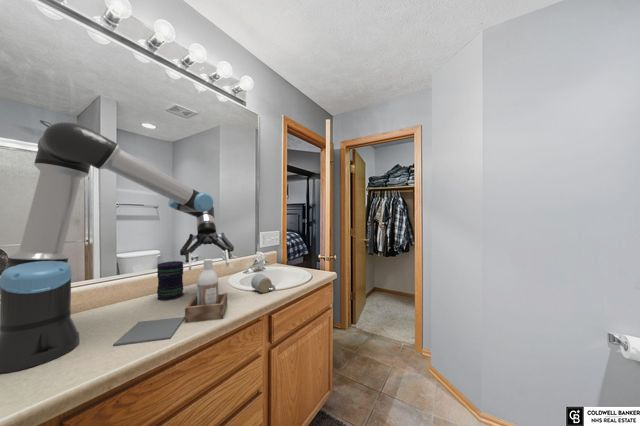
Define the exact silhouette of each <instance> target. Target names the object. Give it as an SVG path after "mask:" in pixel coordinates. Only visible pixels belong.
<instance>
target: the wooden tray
mask: <svg viewBox="0 0 640 426" xmlns="http://www.w3.org/2000/svg"><path fill="white" fill-rule="evenodd" d="M227 309H228V293H226V292H223V293H218V304H210V305H200V306H197V295H194V296H193V297H192V298H191V299H190V301H188V303H187V305H185V307H184V317H185V319H184V323H186V324H187V323H196V322H203V321H213V320H221V319H222V320H223V319H224V317H225V314H226V311H227Z"/></svg>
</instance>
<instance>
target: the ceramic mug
mask: <svg viewBox="0 0 640 426" xmlns="http://www.w3.org/2000/svg"><path fill="white" fill-rule="evenodd" d="M250 285H251V287H252V289H254V288H255V289H256V290H255V289H254V290H255V291H257V292H259V293H262V294H265V293H268V292H269V291H270V290H271V289H269V288H273V289H272V290H275V289H276V285H274V284H273V283H272V280H271V279H270V278H269V277H268V276H266V275H264V274H262V273H257V274H255V275H254V276H253V277H252V278H251V281H250Z"/></svg>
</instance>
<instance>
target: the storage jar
mask: <svg viewBox="0 0 640 426" xmlns="http://www.w3.org/2000/svg"><path fill="white" fill-rule="evenodd" d="M156 273H157V276H156V277H157V290H156V291H157V292H156V294H157V298H156V299H157V301H162V302H163V301H164V302H167V301H172V300H177V299H180V298H182V297H183V296H184V282H183V279H184V278H183V275H184V261H181V260H177V261H176V260H175V261H174V260H173V261H165V262H160V263H158V264H157V272H156Z"/></svg>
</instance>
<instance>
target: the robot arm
mask: <svg viewBox="0 0 640 426" xmlns="http://www.w3.org/2000/svg"><path fill="white" fill-rule="evenodd" d="M37 148H38V149H37V151H36V155H35V159H34V163H33V166H34V167H35V168H36V169H37V170H39V175H38V177H37V178H38V179H37V183H36V186H35V190H34V194H33V198H32V201H31V204H30V209H29V212H28V215H27V220H26V224H25V226H24V231H23V234H22V237H21V238H22V239H21V243H20V246H19V249H18V251H16V252H14V253H12V254H10V255H9V256H8V258H7V262H6V264H5V265H6V266H5V268H4V270H3V271H2V272H1V274H0V374H4V373H12V372H16V371H20V370H21V371H22V370H25V369H28V368H32V367H34V366H35V367H36V366H39V365H43V364H45V363H47V362H49V361H52V360H55V359H57V358H60V357H61V356H64V355H66V354H68V353H70V352H71V351H72V350H74V349H75V348H76V347H78V346H79V344H80V333H79V331H78V330H77V327H76V324H75V322H74V321H73V319H72V316H71V314H72V313H71V312H72V309H71V308H72V307H71V306H72V303H71V300H72V294H71V293H72V277H73V272H72V267H71V265H70V263H68V261H69V256H68V255H67V254H66V252H64V249H65V244H66V240H67V237H68V232H69V229H70V225H71V221H72V215H73V211H74V207H75V203H76V199H77V195H78V191H79V187H80V183H81V180H82V179H85V178H86V177H88V176H89V173H90V170H91V167H93V168H95V169H98V170H108V171H110V172H112V173H114V174H116V175H118V176H120V177H122V178H124V179H126V180H129V181H131V182H133V183H136V184H137V185H140V186H142V187H144V188H146V189H148V190H150V191H152V192H154V193H156V194H159V195H160V196H162V197H165V198H167V199H168V206H169V208H171V209H174V210H175V211H179V212H182V213H184V214H187V215H190V216H192V217H195V218H196V227H197V228H196V229H197V230H196V231H197V232H196V233H197V234H193V233H190V234H189V237H188V239H187V240H186V242H185V243H184V245H183V246H182V247H181V248H180V250H179V255H180V256H184V258H185V259H184V260H185V263H188V271H192V253H193V252H195V250H197V249H198V248H199V247H201V246H202V245H205V246H206V245H212V244H213V245H214V246H217V247H218V248H219V249H221V250H223V251H224V257H225V266H226V267H229V265H230V259H231V256H232V254H231V252H234V250H235V246H234V245H233V244H232V243H231V242H230V240H229V238H227V237H226V236H225V233H224V232H221V233H220V234H218V233H217V227H216V218H215V208H214V199H213V197H212V196H211V195H210V193H206V192H199V191H198V190H195V189H193V188H191V187H190V186H188V185H186V184H184V183H183V182H181V181H179V180H177V179H175V178H174V177H172V176H170V175H169V174H166V173H164V172H162V171H161V170H159V169H157V168H155V167H153V165H149V164H148V163H146V162H145V161H142V160H141V159H139V158H137V157H135V156H133V155H132V154H130V153H128V152H126V151H124V150H122V148H120V144H118V143H117V142H115V141H113V140H111V139H109V138H108V137H106V136H104V135H102V134H100V133H99V132H97V131H95V130H93V129H91V128H89V127H86V126H84V125H81V124H78V123H75V122H69V121H68V122H67V121H65V122H56V123H54V124H50V125H49V126H47V128H45V130H44V131H43V134H42V136H40V138H39V140H38V143H37ZM195 239H196V241H195ZM220 240H221V241H220ZM194 241H195V242H194ZM193 242H194V243H193ZM192 243H193V244H192Z"/></svg>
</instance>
